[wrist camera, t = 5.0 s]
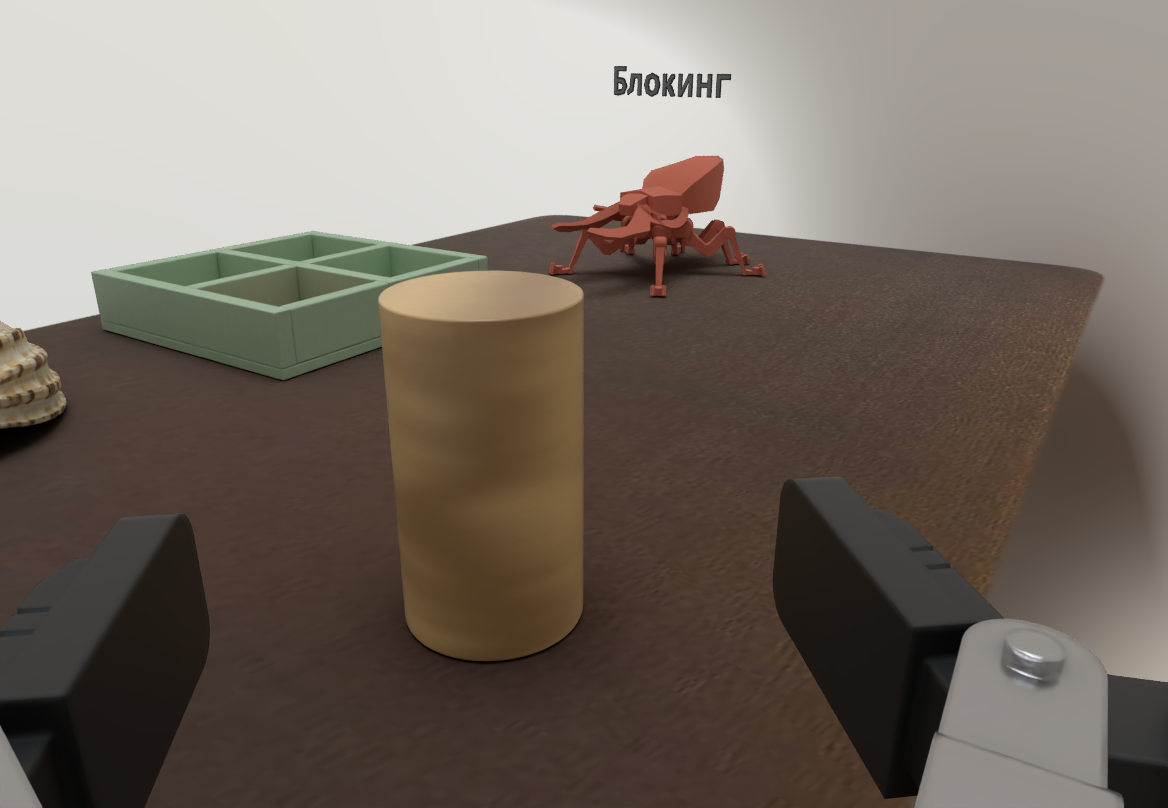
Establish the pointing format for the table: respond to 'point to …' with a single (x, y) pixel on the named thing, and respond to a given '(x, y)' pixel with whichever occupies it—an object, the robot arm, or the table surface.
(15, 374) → the seashell
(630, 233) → the beetle
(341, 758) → the table surface
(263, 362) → the grid
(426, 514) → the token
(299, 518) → the table surface
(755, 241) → the table surface
